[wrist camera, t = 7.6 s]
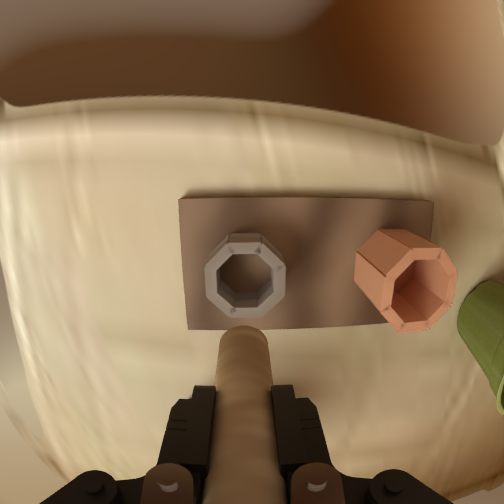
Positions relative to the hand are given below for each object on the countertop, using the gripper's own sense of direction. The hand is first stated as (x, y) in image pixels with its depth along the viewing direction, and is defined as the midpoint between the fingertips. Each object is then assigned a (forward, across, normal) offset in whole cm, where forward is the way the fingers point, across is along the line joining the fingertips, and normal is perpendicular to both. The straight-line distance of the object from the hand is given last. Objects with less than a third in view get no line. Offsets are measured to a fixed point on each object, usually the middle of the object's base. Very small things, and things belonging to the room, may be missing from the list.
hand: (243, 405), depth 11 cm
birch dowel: (+4, 0, 0) cm, 4 cm away
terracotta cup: (+16, -12, 0) cm, 20 cm away
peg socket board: (+17, -6, 0) cm, 17 cm away
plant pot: (+17, -26, +6) cm, 31 cm away
